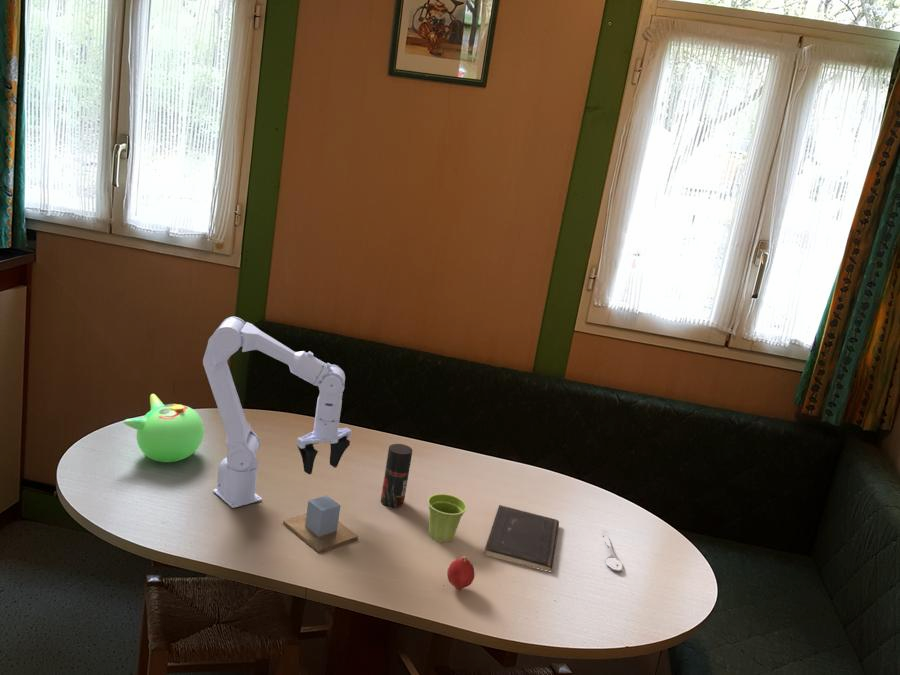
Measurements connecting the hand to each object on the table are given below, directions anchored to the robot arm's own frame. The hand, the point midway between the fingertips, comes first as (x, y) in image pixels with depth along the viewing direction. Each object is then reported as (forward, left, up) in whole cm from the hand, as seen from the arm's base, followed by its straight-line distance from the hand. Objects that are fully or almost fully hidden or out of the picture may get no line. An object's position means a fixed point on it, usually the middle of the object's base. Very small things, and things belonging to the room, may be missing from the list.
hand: (320, 469), depth 180 cm
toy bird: (-39, -19, -10) cm, 45 cm away
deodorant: (+8, +18, -10) cm, 22 cm away
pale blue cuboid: (+10, -6, -9) cm, 15 cm away
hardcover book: (+38, +35, -11) cm, 53 cm away
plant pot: (+26, +18, -10) cm, 33 cm away
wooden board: (+10, -6, -10) cm, 15 cm away
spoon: (+53, +51, -11) cm, 74 cm away
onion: (+43, +6, -10) cm, 45 cm away
